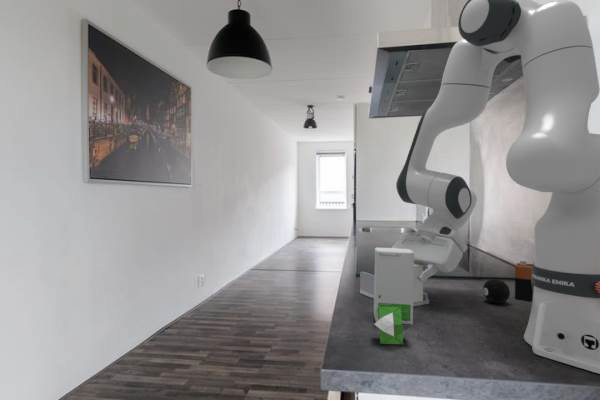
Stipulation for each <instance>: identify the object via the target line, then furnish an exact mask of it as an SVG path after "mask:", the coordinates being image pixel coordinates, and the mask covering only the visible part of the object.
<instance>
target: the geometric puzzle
mask: <svg viewBox="0 0 600 400" xmlns="http://www.w3.org/2000/svg"><path fill="white" fill-rule="evenodd" d="M378 308H379V320H378V321H377V322H376V321H375V319H376V318H374V319H373V321H372V322H373V323H372V324H371V327H372V328H373V330H374V332H375V334H376V336H377V338H378V341H379V344H380V345H381V344H382V345H383V344H384V345H403V346H404V344H405V340H406V338H407V333H409V331H410V330H408V332H407V331H406V330H407V329H408V328H411V327H412V324H404V323H403V324H402V316H401V309H402V308H401V307H391V306H379V307H378ZM377 312H378V311H377ZM377 312H376V313H377ZM403 312H404V311H402V313H403ZM375 316H376V315H375ZM403 316H404V315H403ZM404 319H405V318H404ZM404 321H405V320H404ZM408 321H409V320H408ZM405 322H406V321H405ZM407 323H408V322H407ZM374 328H375V329H374ZM377 330H378V331H379V334H378V331H377ZM404 330H405V332H404ZM403 332H404V333H405V334H403ZM378 335H379V336H378ZM404 335H405V336H404Z"/></svg>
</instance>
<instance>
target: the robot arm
mask: <svg viewBox="0 0 600 400" xmlns="http://www.w3.org/2000/svg"><path fill="white" fill-rule="evenodd" d="M457 24H458V33H459V35H460V36H461V38H462V39H460V40H458V41H457V42H456V43H455V44H454V45H453V46H452V48H451V50H450V52H449V56H448V58H447V61H446V63H445V66H444V71H443V74H442V79H441V83H440V84H441V85H440V89H439V91H438V94H437V96H436V98H435V100H434V101H433V103H432V105H431V106H429V107H427V108H426V109H425V110H424V112H423V113H422V115H421V116H420V120H419V122H418V125H417V128H416V130H415V132H414V136H413V139H412V142H411V145H410V147H409V151H408V154H407V156H406V160H405V162H404V163H405V164H404V165H403V167H402V170H401V171H400V173H399V175H398V177H397V181H396V185H395V186H396V192H397V194H398V196H399V198H400V199H401V201H403V203H408V204H413V205H418V206H419V205H420V206H422V207H425V208H429V209H432V213H430V214H429V215H428V216H427V217H426V218H425V220H423V222H422V224H420V226H419V227H418V229H417V230H416V233H415V232H409V233H408V234H404V235H402V236H401V237H399V239H398V240H397V241H395V242H394V244H393V245H392V246H391V248H397V249H410V250H411V251H413V252H414V263H416V264H420V265H423V268H426V269H425V270H423V272H419V274H418V275H417V279H418V280H419V281H421V282H423V283H425V282H427V280H428V278H431V277H432V276H434V275H436V273H437V272H439V271H440V272H443V273H447V274H448V273H451V272H454V270H455V269H457V266H458V265H459V263H460V262H461V260H462V258H463V257H464V256H463V255H464V254H463V253H466V251H467V249H468V245H467V244H466V242H465V240H464V239H463V237H462V236H461V235H460V233H459V231H460V229H461V228H463V227H464V226H465V225H466V223H467V222H468V220H469V219H470V217H471V215H472V213H473V211H474V209H475V207H476V205H477V202H478V201H477V199H478V198H477V195H476V192H475V191H474V190H473V189H472V188H471V187H470V186H469V185H468V184H467V182H466V180H465V179H464V178H463V177H462V176H459V175H456V174H451V173H447V172H440V171H436V170H431V169H427V166H426V165H427V162H428V159H429V157H430V153H431V151H432V147H433V146H434V143H435V140H436V139H437V137H438V136H439V135H440V134H441V133H443V132H445V131H447V130H449V129H450V130H451V129H453V128H457V127H460V126H461V127H462V126H464V125H466V124H469V123H471V122H472V121H474V120H476V119H477V118H478V117H480V115H482V114H483V112H484V111H485V108H486V106H487V103H488V100H489V96H490V92H491V87H492V82H493V77H494V73H495V70H496V67H497V66H498V65H499V63H501V62H502V61H504V62H506V63H507V64H511V63H514V62H517V61H519V60H520V61H521V68H522V77H523V78H522V79H523V85H524V86H523V87H524V96H525V103H526V104H525V108H526V109H525V118H524V122H523V126H522V131H521V132H520V134H519V137H518V138H516V140H514V141H513V143H512V144H510V145H511V146H510V147H509V148H508V151H507V154H506V159H505V166H506V170H507V173H508V175H509V177H510V179H511V180H512V181H514V183H516V184H517V185H519V186H521V187H525V188H527V189H530V190H533V191H537V192H539V193H551V197H550V200H549V203H548V206H547V209H546V210H545V211H544V214H543V215H542V216H541V217H540V218H539V219H538V220H537V221H536V223H535V226H534V258H533V260H534V261H533V264H534V265H533V266H532V274H531V285H532V291H533V300H532V301H531V307H530V313H529V319H528V323H527V326H526V329H525V332H524V334H523V340H524V341H525V342H526V343H527V344H529V345H530V346H531V347H532V353H533V354H535V355H538V356H541V357H543V358H546V359H550V360H553V361H556V362H558V363H559V362H560V363H563V364H566V365H569V366H573V367H576V368H579V369H583V370H586V371H590V372H592V373H594V374H595V373H596V374H599V375H600V134H599V133H593V132H592V133H591V132H590V131H589V128H588V127H589V126H588V124H589V123H588V121H589V115H590V110H591V107H592V104H593V103H594V102H595V101H596V99H597V98H598V97H599V95H600V83H599V77H598V70H597V69H598V68H597V65H596V64H597V62H596V57H595V51H594V46H593V40H592V36H591V33H590V29H589V27H588V23H587V21H586V18H585V16H584V14H583V11H582V10H581V8H580V6H579V5H578V4H577V3H575V2H573V1H571V0H554V1H550V2H548V3H547V2H546V3H545V4H539V3H538V2H536V1H534V0H467V1H466V3H465V4H464V6H463V7H462V9H461V12H460V15H459V17H458V23H457Z"/></svg>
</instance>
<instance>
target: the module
mask: <svg viewBox="0 0 600 400" xmlns="http://www.w3.org/2000/svg"><path fill="white" fill-rule="evenodd" d="M423 271H424V267H423V265H420V264H416V263H414V288H413V302H418V301H423V293H424V282H421V281H419V280H418V279H417V275H418V274H419V272H423Z"/></svg>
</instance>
